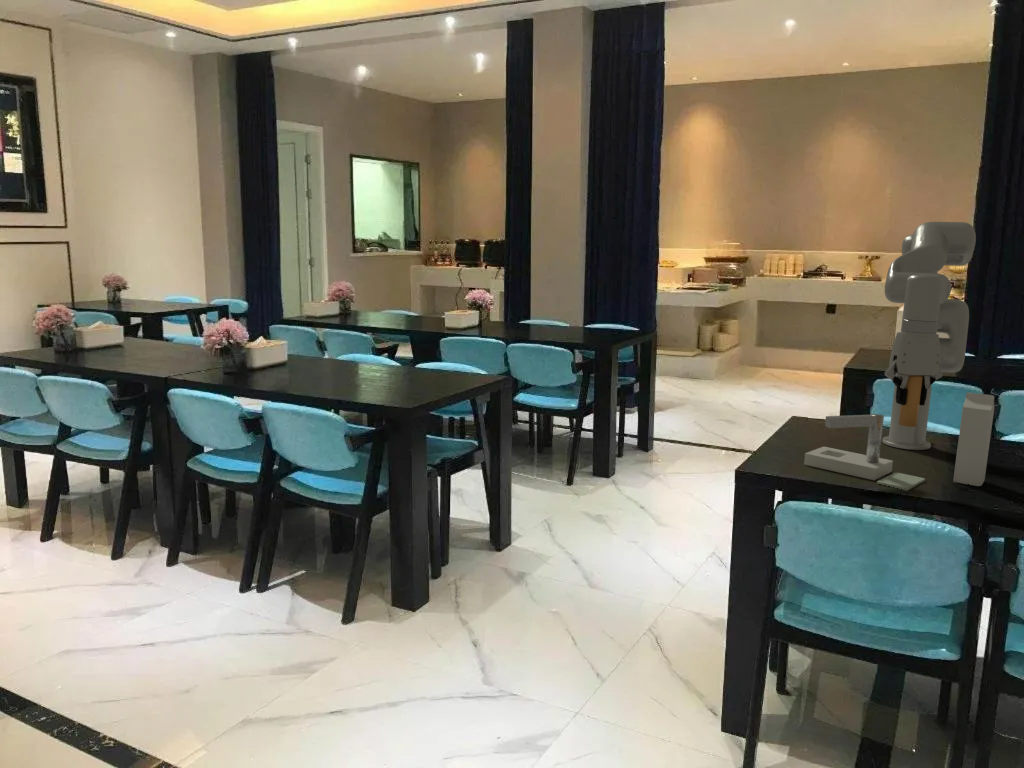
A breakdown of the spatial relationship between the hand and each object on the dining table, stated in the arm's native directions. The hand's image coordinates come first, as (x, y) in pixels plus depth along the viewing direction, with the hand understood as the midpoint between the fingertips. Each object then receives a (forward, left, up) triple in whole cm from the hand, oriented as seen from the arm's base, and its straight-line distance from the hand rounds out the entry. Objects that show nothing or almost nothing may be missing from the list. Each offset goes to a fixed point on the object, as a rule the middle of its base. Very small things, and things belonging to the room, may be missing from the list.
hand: (910, 403), depth 193 cm
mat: (0, 0, -20) cm, 20 cm away
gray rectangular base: (-2, -14, -20) cm, 24 cm away
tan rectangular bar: (0, 0, -5) cm, 5 cm away
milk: (-14, +11, -20) cm, 27 cm away
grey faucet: (+3, -11, -16) cm, 20 cm away
